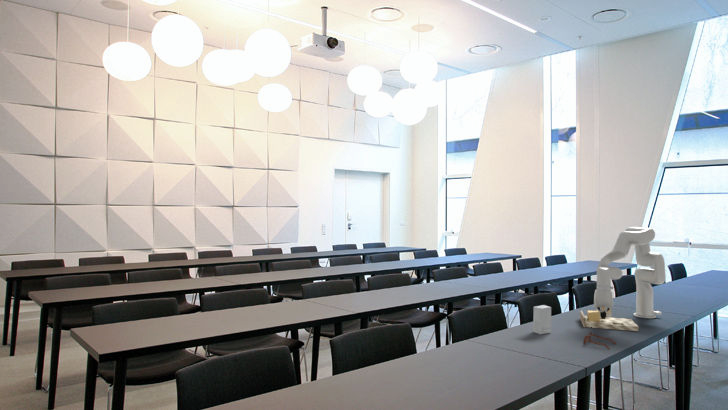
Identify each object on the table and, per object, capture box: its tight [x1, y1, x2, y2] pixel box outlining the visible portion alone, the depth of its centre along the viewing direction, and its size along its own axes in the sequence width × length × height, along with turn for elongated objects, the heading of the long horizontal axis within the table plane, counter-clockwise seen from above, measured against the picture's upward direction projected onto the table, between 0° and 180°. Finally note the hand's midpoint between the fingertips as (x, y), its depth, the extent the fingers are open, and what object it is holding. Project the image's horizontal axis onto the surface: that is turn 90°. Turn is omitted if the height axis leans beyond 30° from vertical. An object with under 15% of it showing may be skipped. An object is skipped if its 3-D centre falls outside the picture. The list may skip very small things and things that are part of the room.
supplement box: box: [595, 307, 613, 318], centre depth 312 cm, size 8×5×13 cm, turn 84°
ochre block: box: [586, 310, 600, 321], centre depth 295 cm, size 6×6×5 cm
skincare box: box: [532, 304, 552, 335], centre depth 275 cm, size 8×6×15 cm
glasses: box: [583, 332, 617, 350], centre depth 252 cm, size 13×13×5 cm
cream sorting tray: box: [579, 310, 640, 332], centre depth 293 cm, size 29×20×6 cm
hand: (603, 318), depth 294 cm, fingers closed
